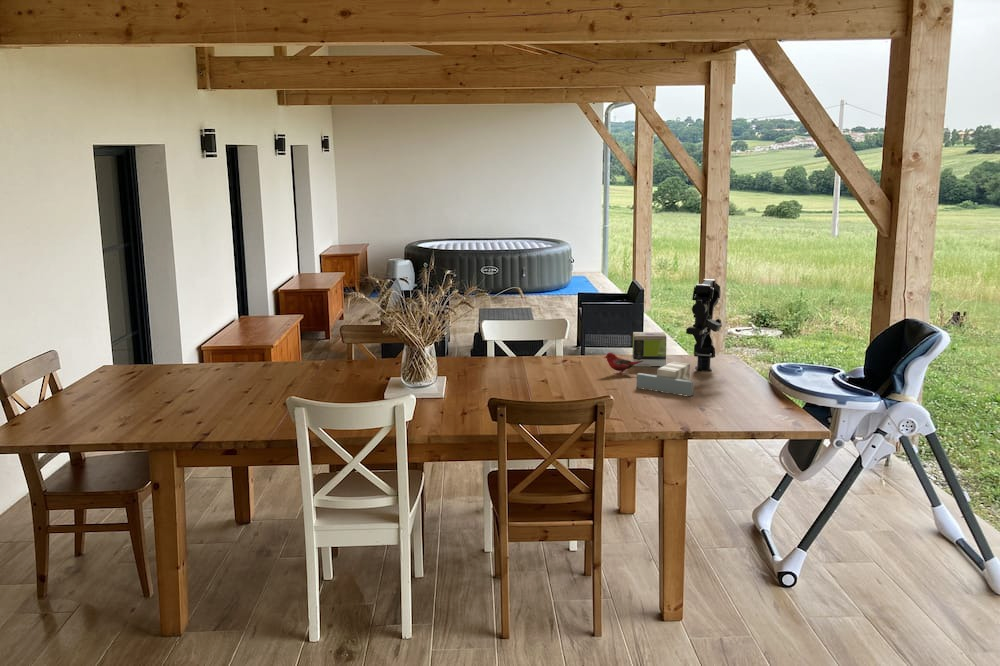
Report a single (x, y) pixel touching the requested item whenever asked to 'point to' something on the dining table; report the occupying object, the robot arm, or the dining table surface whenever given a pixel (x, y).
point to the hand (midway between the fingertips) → (700, 347)
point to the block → (675, 370)
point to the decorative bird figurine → (619, 363)
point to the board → (665, 384)
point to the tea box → (649, 348)
